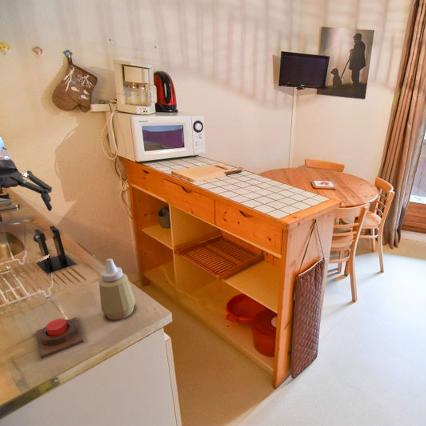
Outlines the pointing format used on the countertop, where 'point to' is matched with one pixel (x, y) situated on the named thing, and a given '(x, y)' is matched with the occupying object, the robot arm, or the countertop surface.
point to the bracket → (54, 262)
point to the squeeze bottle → (115, 292)
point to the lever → (45, 235)
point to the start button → (56, 327)
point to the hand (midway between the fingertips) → (26, 214)
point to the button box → (59, 339)
